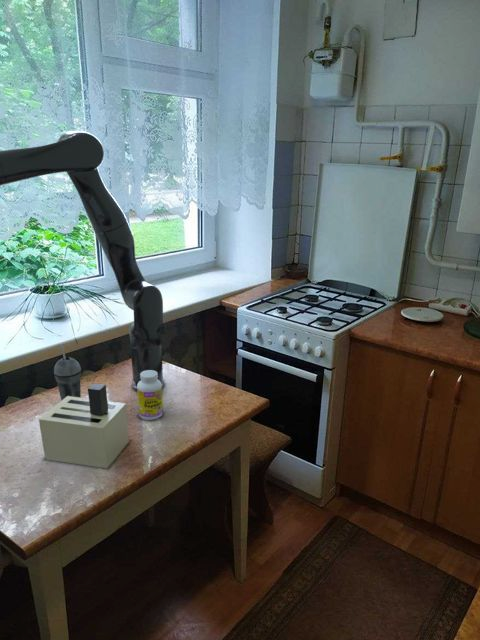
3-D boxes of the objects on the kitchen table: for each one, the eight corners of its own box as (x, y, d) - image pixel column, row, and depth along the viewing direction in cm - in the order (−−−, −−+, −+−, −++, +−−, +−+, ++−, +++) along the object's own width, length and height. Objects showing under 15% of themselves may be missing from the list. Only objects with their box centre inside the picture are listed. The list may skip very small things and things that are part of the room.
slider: (96, 408, 119) (94, 383, 116) (108, 410, 119) (105, 384, 116) (90, 414, 116) (87, 388, 114) (102, 416, 116) (99, 390, 113)
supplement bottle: (142, 422, 135) (139, 380, 130) (136, 411, 140) (133, 370, 136) (166, 417, 138) (164, 376, 133) (159, 407, 143) (157, 366, 139)
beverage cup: (90, 403, 144) (82, 339, 137) (79, 415, 138) (70, 349, 130) (66, 401, 145) (57, 337, 137) (53, 413, 138) (44, 347, 131)
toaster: (72, 433, 129) (67, 395, 125) (129, 441, 126) (126, 402, 122) (44, 459, 118) (38, 418, 114) (107, 468, 116) (102, 427, 111)
